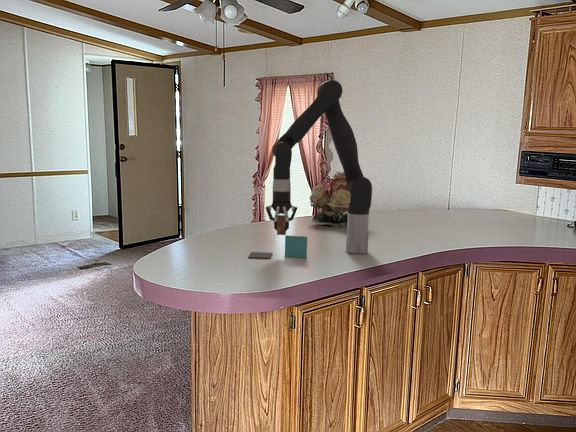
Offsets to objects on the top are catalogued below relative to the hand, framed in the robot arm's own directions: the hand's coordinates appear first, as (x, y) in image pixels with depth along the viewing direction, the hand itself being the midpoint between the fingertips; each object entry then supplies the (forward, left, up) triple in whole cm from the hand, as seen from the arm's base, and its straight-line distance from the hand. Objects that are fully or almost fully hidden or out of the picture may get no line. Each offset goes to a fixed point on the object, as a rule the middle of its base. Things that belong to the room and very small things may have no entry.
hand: (281, 230), depth 224 cm
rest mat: (+8, +7, -10) cm, 15 cm away
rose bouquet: (-26, -82, -10) cm, 86 cm away
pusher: (0, 0, -2) cm, 2 cm away
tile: (-7, +7, -10) cm, 14 cm away
